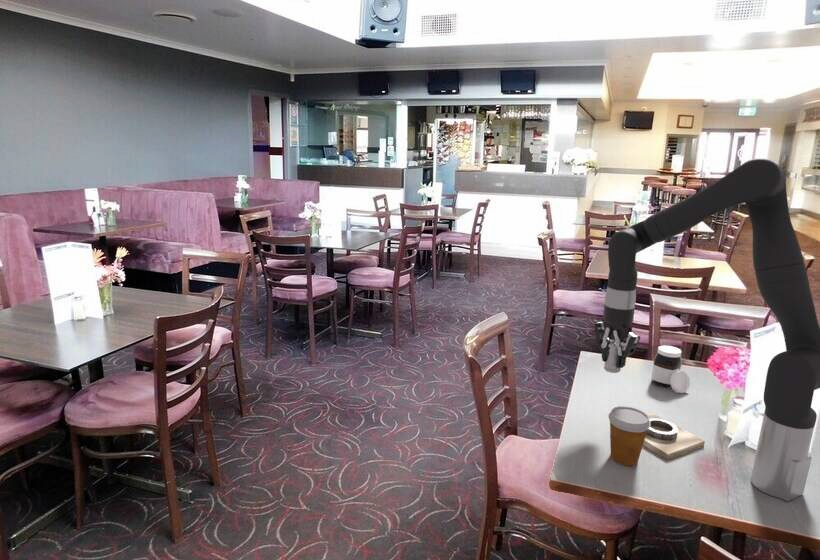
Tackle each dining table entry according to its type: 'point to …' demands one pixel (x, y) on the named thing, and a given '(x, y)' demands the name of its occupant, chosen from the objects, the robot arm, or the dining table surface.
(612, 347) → the rook chess piece
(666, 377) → the spread jar
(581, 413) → the dining table surface
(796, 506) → the dining table surface
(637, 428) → the disposable coffee cup
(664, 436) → the steel socket collar
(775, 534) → the dining table surface
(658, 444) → the birch base plate
